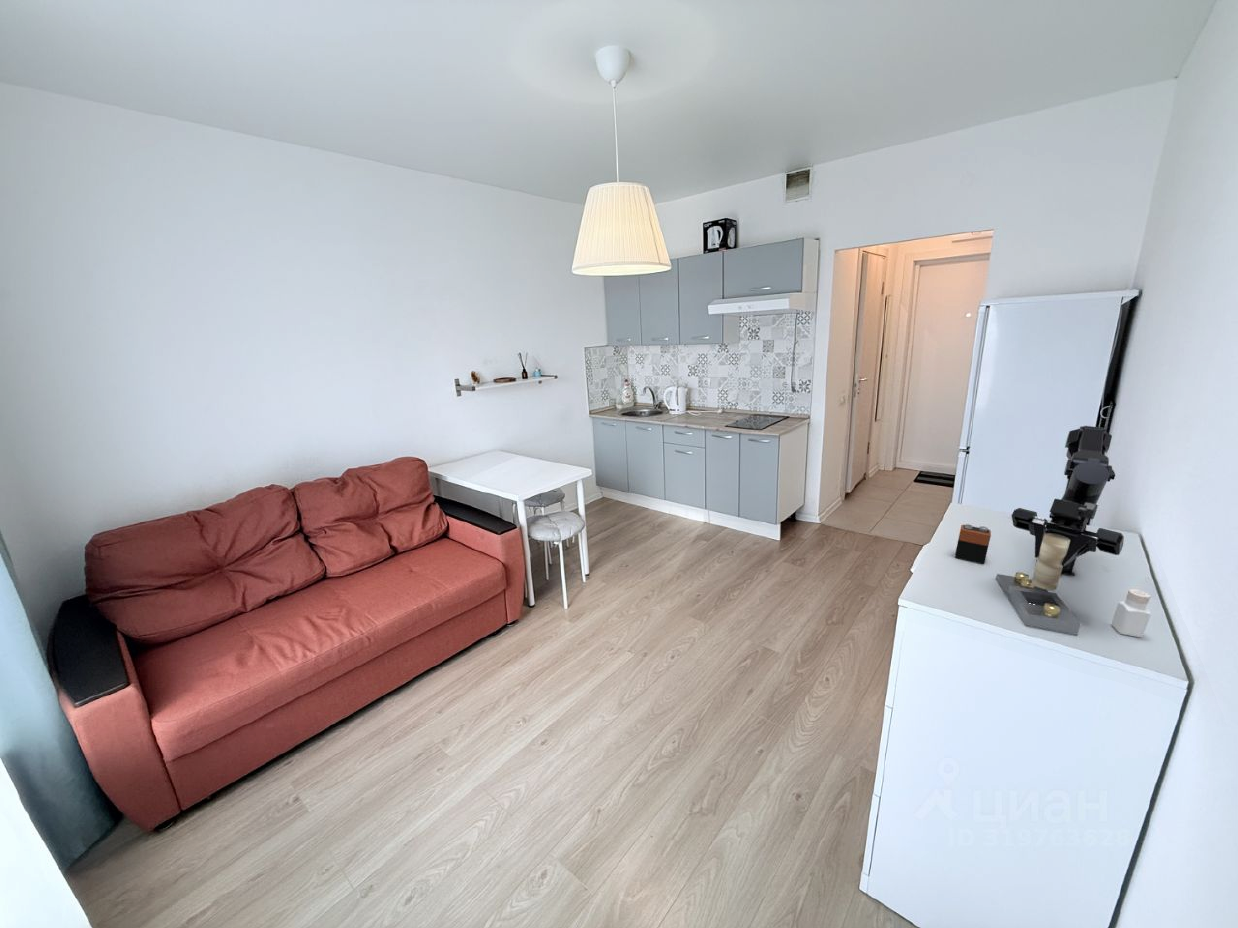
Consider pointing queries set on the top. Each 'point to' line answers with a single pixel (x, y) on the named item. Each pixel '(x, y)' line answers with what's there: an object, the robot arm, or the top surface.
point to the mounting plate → (1038, 605)
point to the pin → (1050, 561)
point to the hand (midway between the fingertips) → (1049, 561)
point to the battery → (973, 543)
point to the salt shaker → (1132, 614)
